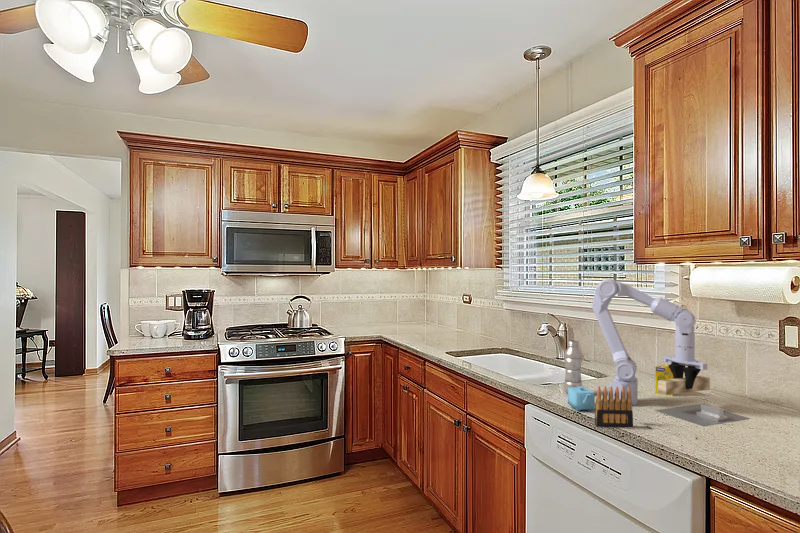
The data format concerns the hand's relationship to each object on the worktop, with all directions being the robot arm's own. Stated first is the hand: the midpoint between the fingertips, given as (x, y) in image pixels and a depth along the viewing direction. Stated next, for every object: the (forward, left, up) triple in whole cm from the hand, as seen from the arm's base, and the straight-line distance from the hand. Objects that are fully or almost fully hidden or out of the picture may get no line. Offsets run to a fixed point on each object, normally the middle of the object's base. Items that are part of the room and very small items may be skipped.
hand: (684, 387), depth 160 cm
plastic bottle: (-13, +34, -8) cm, 37 cm away
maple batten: (0, 0, -1) cm, 1 cm away
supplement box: (+15, +15, -8) cm, 23 cm away
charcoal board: (-1, -5, -8) cm, 10 cm away
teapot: (-27, +19, -8) cm, 34 cm away
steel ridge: (-2, -9, -7) cm, 12 cm away
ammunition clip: (-33, +3, -8) cm, 34 cm away
